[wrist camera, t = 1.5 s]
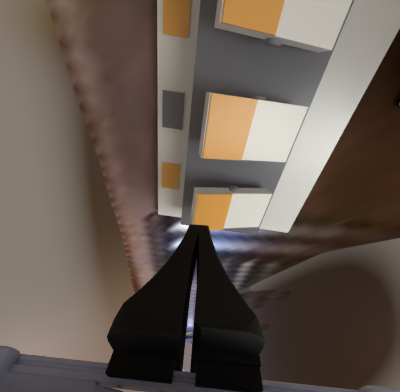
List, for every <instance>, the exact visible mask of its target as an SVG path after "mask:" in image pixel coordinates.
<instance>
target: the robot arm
mask: <svg viewBox="0 0 400 392" xmlns="http://www.w3.org/2000/svg"><path fill="white" fill-rule="evenodd" d="M399 106H400V103H399ZM196 259H197V293H196V305H195V316H194V329H193V343H192V355H191V370H190V372H183V371H182V369H183V357H184V348H185V338H186V328H187V319H188V309H189V300H190V291H191V285H192V280H193V275H194V270H195V264H196ZM107 338H108V342H109V343H110V345H111V347H112V348H113V350H114V351H113V354H112V356H111V359H110V361H109V363H100V362H91V361H81V360H71V359H63V358H53V357H45V356H35V355H26V354H20V352H19V351H18V350H16V349H14V348H12V347H8V346H0V392H123V391H120V390H116V389H112V388H119V389H127V390H136V391H145V392H400V390H398V389H397V388H390V387H380V386H365V387H362V388H360V389H359V391H358V390H349V389H339V388H331V387H321V386H312V385H303V384H294V383H284V382H275V381H266V380H262V379H261V373H260V366H261V362H260V357H259V353H260V352H261V350H262V349H263V347H264V345H265V341H264V336H263V333H262V329H261V327H260V324H259V321H258V319H257V317H256V315H255V314H254V312H253V311H252V310H251V309H250V307H249V306H248V305H247V303H246V302H245V301H244V299H243V298H242V297H241V295H240V294H239V292H238V291H237V289H236V288H235V286H234V285H233V283H232V282H231V280H230V279H229V277H228V275H227V273H226V272H225V270H224V268H223V266H222V264H221V262H220V260H219V257H218V255H217V253H216V250H215V248H214V245H213V242H212V239H211V235H210V231H209V226H207V225H195V224H191V225H189V228H188V230H187V232H186V234H185V236H184V238H183V240H182V241H181V243H180V244H179V246H178V248H177V249H176V250H175V252H174V253H173V255H172V256H171V257H170V259H169V260H168V261H167V262H166V264H165V265H164V266H163V267H162V268H161V269H160V270H159V271H158V273H157V274H156V275H155V276H154V277H153V278H152V279H151V280H150V281H149V282H147V283H146V284H145V285H144V286H143V287H142V288H141V289H140V290H139V291H138V292H136V293H135V294H134V295H133V296H132V297H130V298H129V299H128V300H127V301H126V302H125V303H124V304H123V305H122V307H121V308H120V310H119V312H118V313H117V315H116V317H115V319H114V321H113V323H112V326H111V328H110V330H109V333H108V335H107ZM109 387H110V388H109Z"/></svg>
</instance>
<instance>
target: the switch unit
mask: <svg viewBox="0 0 400 392" xmlns="http://www.w3.org/2000/svg"><path fill="white" fill-rule="evenodd" d="M217 1H218V0H157V63H158V214H160V215H167V216H174V217H181V224H183V225H190V217H191V209H192V201H193V193H194V187H214V188H229V186H231V185H235V186H237V187H239V188H267V189H268V190H269V191H270V192H271V193H272V196H271V199H270V201H269V204H268V206H267V208H266V211H265V213H264V216H263V218H262V220H261V223H260V225H259V227H247V228H226V229H222V230H226V231H233V232H240V233H247V234H254V235H257V232H258V230H259V229H266V230H273V231H280V232H287V233H288V232H289V230H290V228H291V226H292V224H293V222H294V221H295V219H296V217H297V215H298V213H299V211H300V210H301V208H302V206H303V204H304V202H305V200H306V199H307V197H308V195H309V193H310V191H311V189H312V188H313V186H314V184H315V182H316V180H317V179H318V177H319V175H320V173H321V171H322V169H323V168H324V166H325V164H326V162H327V160H328V158H329V157H330V155H331V153H332V151H333V149H334V147H335V146H336V144H337V142H338V140H339V138H340V136H341V135H342V133H343V131H344V129H345V127H346V125H347V124H348V122H349V120H350V118H351V116H352V115H353V113H354V111H355V109H356V107H357V105H358V104H359V102H360V100H361V98H362V96H363V94H364V93H365V91H366V89H367V87H368V85H369V83H370V82H371V80H372V78H373V76H374V74H375V72H376V71H377V69H378V67H379V65H380V63H381V62H382V60H383V58H384V56H385V54H386V52H387V51H388V49H389V47H390V45H391V43H392V41H393V40H394V38H395V36H396V34H397V32H398V30H399V29H400V0H352V3H351V5H350V8H349V10H348V12H347V15H346V17H345V20H344V22H343V24H342V27H341V29H340V32H339V34H338V37H337V39H336V41H335V44H334V46H333V49H332V50H331V51H325V52H320V53H318V52H314V51H310V50H306V49H301V48H297V47H293V46H289V45H285V44H281V46H277V47H273V46H267V45H265V41H266V40H264V39H260V38H256V37H251V36H247V35H243V34H239V33H235V32H230V31H226V30H222V29H218V28H214V25H215V17H216V9H217ZM206 92H211V93H218V94H225V95H231V96H238V97H245V98H251V97H252V95H256V96H263V97H266V98H265V100H266V101H272V102H279V103H286V104H293V105H299V106H306V107H308V109H307V112H306V114H305V116H304V119H303V121H302V124H301V126H300V129H299V131H298V133H297V136H296V138H295V141H294V143H293V145H292V148H291V150H290V153H289V155H288V158H287V160H286V162H271V161H252V160H248V161H247V162H243V161H239V160H223V159H205V158H201V157H200V155H199V145H200V137H201V129H202V121H203V113H204V105H205V97H206Z"/></svg>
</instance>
